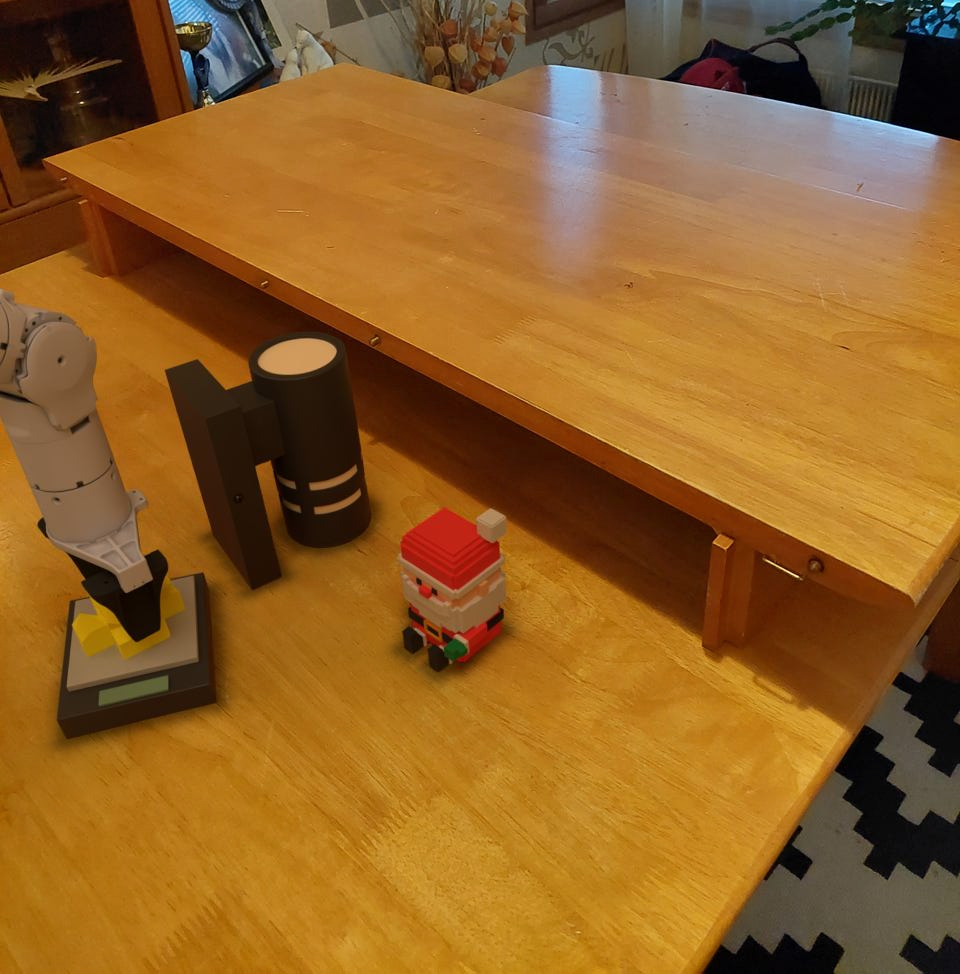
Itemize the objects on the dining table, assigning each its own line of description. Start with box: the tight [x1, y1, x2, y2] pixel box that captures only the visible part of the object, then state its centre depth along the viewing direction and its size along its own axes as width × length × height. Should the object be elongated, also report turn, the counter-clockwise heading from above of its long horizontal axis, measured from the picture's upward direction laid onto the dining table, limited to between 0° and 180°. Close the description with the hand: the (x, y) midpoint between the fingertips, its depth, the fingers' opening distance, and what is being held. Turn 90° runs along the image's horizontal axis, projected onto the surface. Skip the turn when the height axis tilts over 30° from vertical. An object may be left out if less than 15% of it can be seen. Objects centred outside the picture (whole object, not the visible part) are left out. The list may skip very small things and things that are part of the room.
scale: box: [56, 571, 217, 739], centre depth 74 cm, size 13×11×3 cm
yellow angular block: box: [72, 573, 185, 660], centre depth 71 cm, size 6×8×8 cm
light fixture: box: [164, 331, 372, 591], centre depth 81 cm, size 10×14×18 cm
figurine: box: [397, 506, 508, 672], centre depth 71 cm, size 8×7×12 cm
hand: (126, 608), depth 72 cm, fingers open, 7 cm apart
